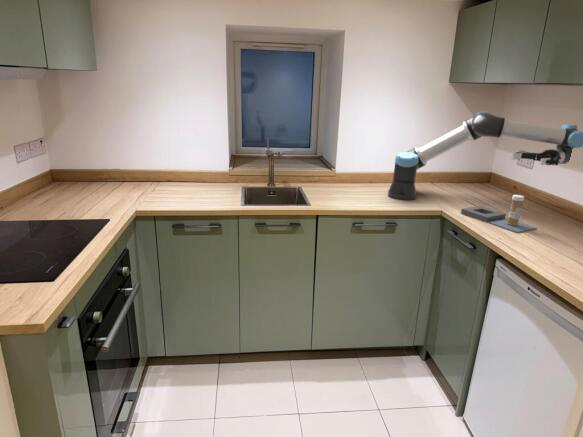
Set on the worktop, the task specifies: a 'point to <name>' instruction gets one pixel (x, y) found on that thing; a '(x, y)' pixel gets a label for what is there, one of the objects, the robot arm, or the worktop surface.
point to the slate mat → (516, 229)
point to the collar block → (483, 213)
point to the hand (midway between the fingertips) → (526, 159)
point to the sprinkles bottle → (515, 210)
